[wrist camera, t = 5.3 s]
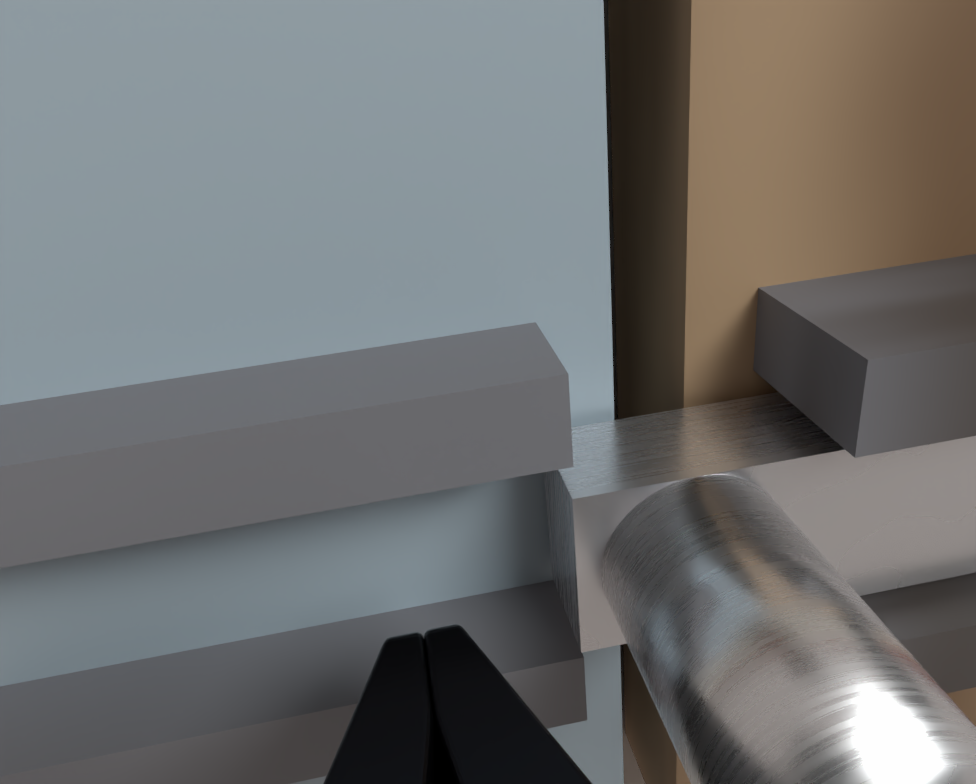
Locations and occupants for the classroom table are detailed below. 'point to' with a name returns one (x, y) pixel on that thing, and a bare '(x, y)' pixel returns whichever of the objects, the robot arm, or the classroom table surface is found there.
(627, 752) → the classroom table surface
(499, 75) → the door panel
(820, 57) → the jamb
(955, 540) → the bolt
